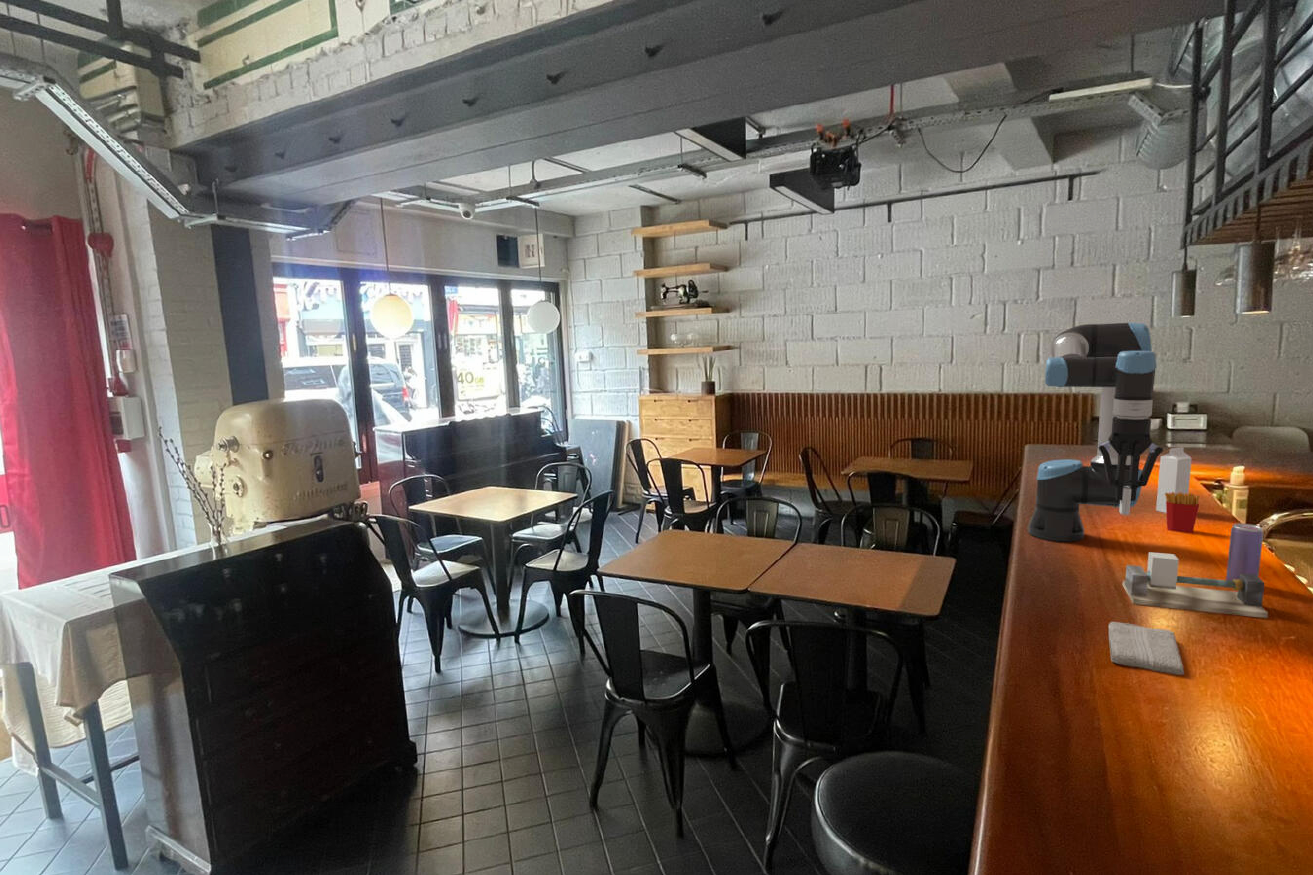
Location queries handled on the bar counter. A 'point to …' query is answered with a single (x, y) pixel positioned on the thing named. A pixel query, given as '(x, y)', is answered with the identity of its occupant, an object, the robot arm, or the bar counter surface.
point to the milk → (1173, 475)
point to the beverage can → (1244, 551)
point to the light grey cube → (1162, 570)
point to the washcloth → (1144, 648)
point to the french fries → (1181, 511)
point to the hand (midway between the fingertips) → (1124, 513)
